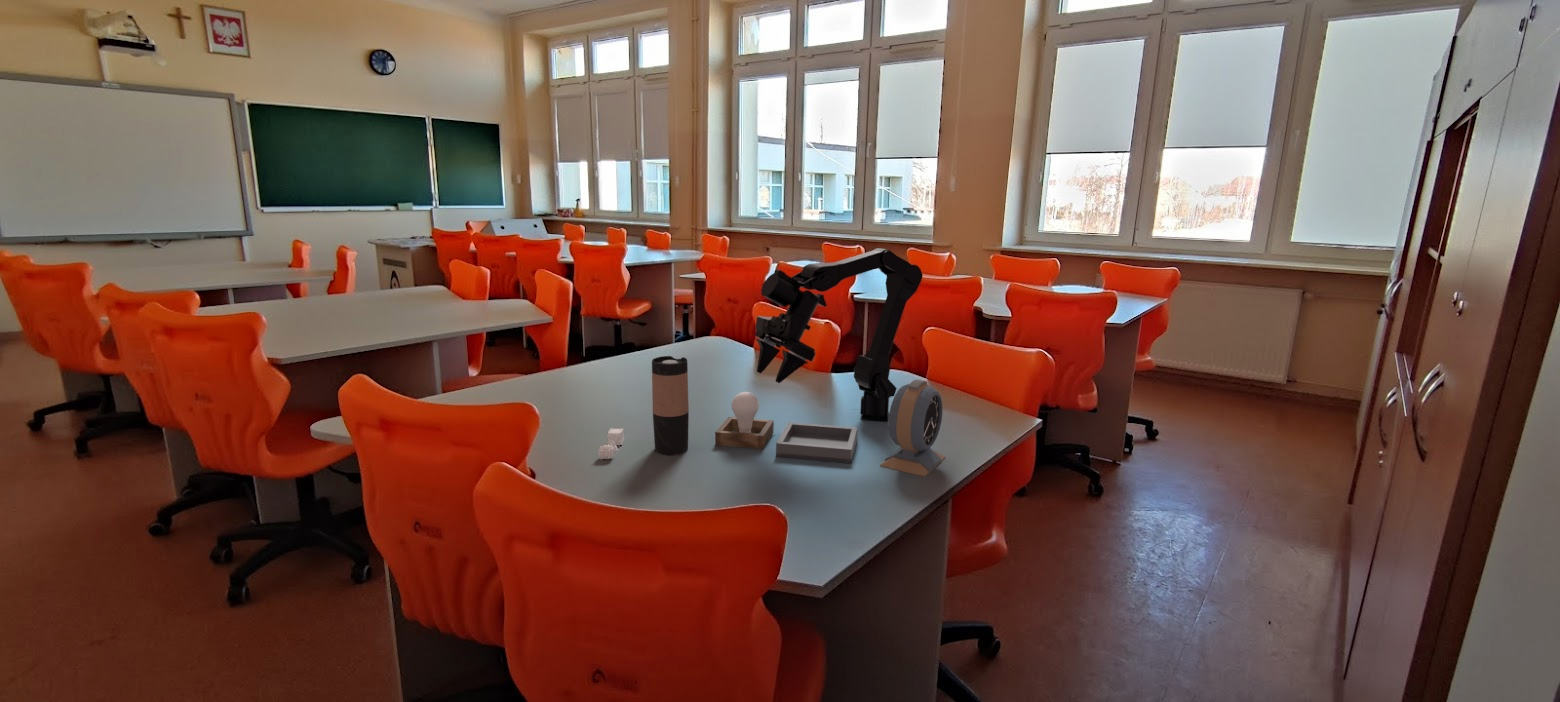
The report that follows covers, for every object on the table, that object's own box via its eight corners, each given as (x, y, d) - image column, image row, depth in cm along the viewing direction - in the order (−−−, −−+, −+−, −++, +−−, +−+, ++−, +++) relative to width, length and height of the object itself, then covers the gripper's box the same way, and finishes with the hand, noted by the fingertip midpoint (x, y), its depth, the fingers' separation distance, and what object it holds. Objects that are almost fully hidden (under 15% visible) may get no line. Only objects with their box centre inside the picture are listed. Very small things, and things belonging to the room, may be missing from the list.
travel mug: (660, 457, 148) (657, 365, 143) (649, 446, 154) (646, 357, 150) (694, 452, 151) (693, 362, 146) (682, 440, 158) (680, 354, 153)
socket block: (773, 432, 164) (773, 420, 163) (763, 449, 153) (763, 436, 153) (728, 428, 166) (728, 416, 165) (715, 445, 155) (715, 432, 155)
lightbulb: (762, 436, 161) (762, 390, 159) (752, 444, 156) (753, 397, 153) (737, 432, 163) (737, 387, 161) (727, 441, 158) (727, 394, 155)
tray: (857, 440, 160) (857, 427, 159) (851, 463, 146) (851, 449, 146) (788, 434, 163) (788, 422, 162) (775, 456, 149) (776, 443, 149)
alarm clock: (922, 478, 139) (928, 393, 135) (877, 467, 144) (881, 385, 140) (946, 456, 151) (952, 377, 147) (904, 446, 156) (908, 370, 152)
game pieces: (610, 441, 157) (609, 428, 156) (624, 442, 157) (624, 428, 156) (597, 462, 145) (596, 447, 145) (613, 462, 145) (612, 448, 145)
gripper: (752, 294, 163) (722, 354, 163) (791, 307, 147) (758, 373, 147) (788, 314, 169) (759, 372, 168) (830, 328, 153) (798, 392, 152)
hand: (767, 377), depth 159 cm, fingers open, 9 cm apart
